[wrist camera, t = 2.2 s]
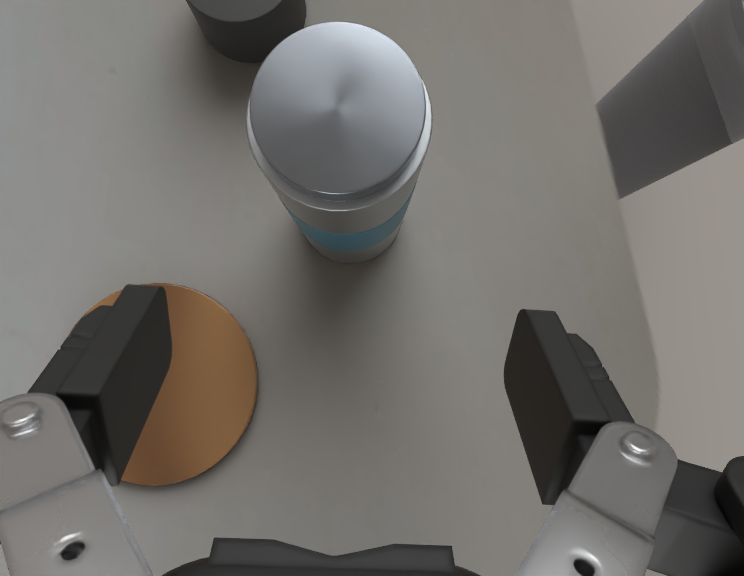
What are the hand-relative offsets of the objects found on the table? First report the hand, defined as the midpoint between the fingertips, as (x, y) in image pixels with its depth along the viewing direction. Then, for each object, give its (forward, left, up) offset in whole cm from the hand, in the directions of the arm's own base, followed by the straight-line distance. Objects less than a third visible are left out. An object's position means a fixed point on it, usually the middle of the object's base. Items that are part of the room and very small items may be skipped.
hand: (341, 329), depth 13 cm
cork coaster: (+11, 0, -19) cm, 22 cm away
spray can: (-2, -6, -19) cm, 20 cm away
